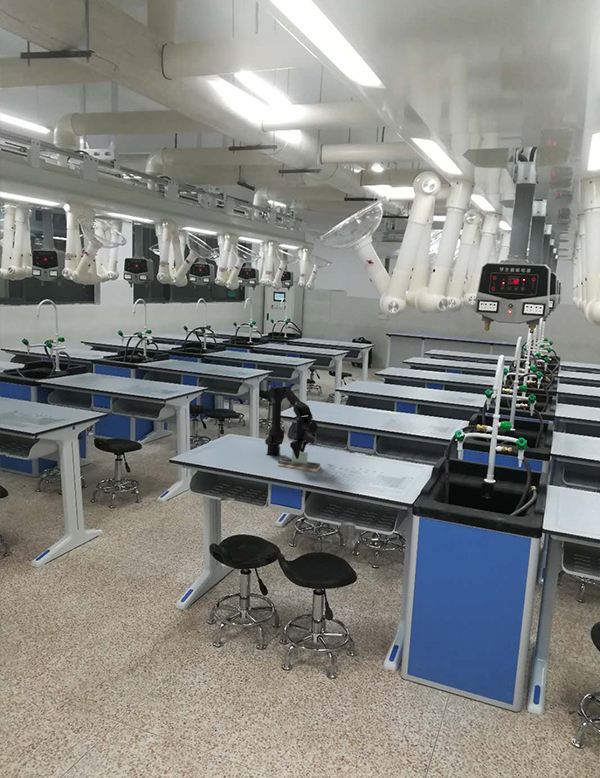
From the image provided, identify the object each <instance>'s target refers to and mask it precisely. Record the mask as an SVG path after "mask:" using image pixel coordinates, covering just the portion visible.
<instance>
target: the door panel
mask: <svg viewBox="0 0 600 778" xmlns="http://www.w3.org/2000/svg"><path fill="white" fill-rule="evenodd" d="M308 455H309V454H308V452H305V451H304V452H300V454H299V458H298V459H296V457H295V454H294V452H293V451H292V452H291V459H292V462H296V463H303V464H307V462H308Z"/></svg>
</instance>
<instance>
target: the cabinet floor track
mask: <svg viewBox="0 0 600 778" xmlns="http://www.w3.org/2000/svg"><path fill="white" fill-rule="evenodd" d="M276 466H277V467H282V468H289V469H295V470H301V471H309V472H315V473H316V472H318V470H319V469H321V467H322V466H321V463H319V462H312V461H307V464H303V463H296V462H292V458H286V457H280V458H279V460H277V464H276Z"/></svg>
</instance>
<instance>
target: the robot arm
mask: <svg viewBox="0 0 600 778" xmlns="http://www.w3.org/2000/svg"><path fill="white" fill-rule="evenodd" d="M268 393H269V399H270V401H271V402H272V405H271V408H272V411H271V412H272V413H271V428H270V430H269V431H268V437H266V439H264V443H265V445H267V452H266V454H265V455H266V456H271V457H278V456H279V455H281V446H280V445H282V444H283V442H284V439H285V430H283V429H282V427H281V426H282V425H281V424H282V402H283V400H284V399H285V398H286V400H287V401H288V402H289V403H290V405H291V406H292V408H293V412H294V414H295V416H294V420H296V421H295V422H296V425H295V430H294V433H295V437H294V440H292V442H290V444H289V447H290V449H292V452H294V454H295V457H296V459H298V458H299V454H300V452H305V449H306V446H307V444H309V443H310V444H311V445H314V444H315V443H316V441H317V440H318V439H317V438H318V436H317V433H316V431H317V430H318V424H317V422H316V420H315V419H314V417H313V414H312V412H311V409H310V406H309V405H308V404H306V402H303V401H302V400H300V399H299V398H298V396H297V395H296V394H295V393H294V391H293V390H292V388H291V386H289V385H285V386H271V387H270V388H269V391H268Z"/></svg>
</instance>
